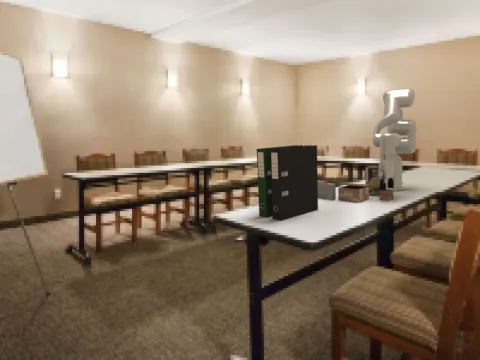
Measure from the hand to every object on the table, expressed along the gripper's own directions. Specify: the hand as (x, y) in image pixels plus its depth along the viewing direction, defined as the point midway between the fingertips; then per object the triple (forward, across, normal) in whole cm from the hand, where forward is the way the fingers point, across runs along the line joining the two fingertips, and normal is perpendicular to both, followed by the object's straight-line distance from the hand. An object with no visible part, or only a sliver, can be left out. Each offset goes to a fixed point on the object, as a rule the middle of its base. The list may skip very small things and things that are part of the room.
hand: (386, 189), depth 191 cm
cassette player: (+6, +14, -30) cm, 34 cm away
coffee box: (+6, -10, -11) cm, 16 cm away
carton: (+6, +9, -14) cm, 18 cm away
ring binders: (+7, +53, -24) cm, 59 cm away
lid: (-2, +9, -14) cm, 17 cm away
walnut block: (+6, -1, 0) cm, 6 cm away
